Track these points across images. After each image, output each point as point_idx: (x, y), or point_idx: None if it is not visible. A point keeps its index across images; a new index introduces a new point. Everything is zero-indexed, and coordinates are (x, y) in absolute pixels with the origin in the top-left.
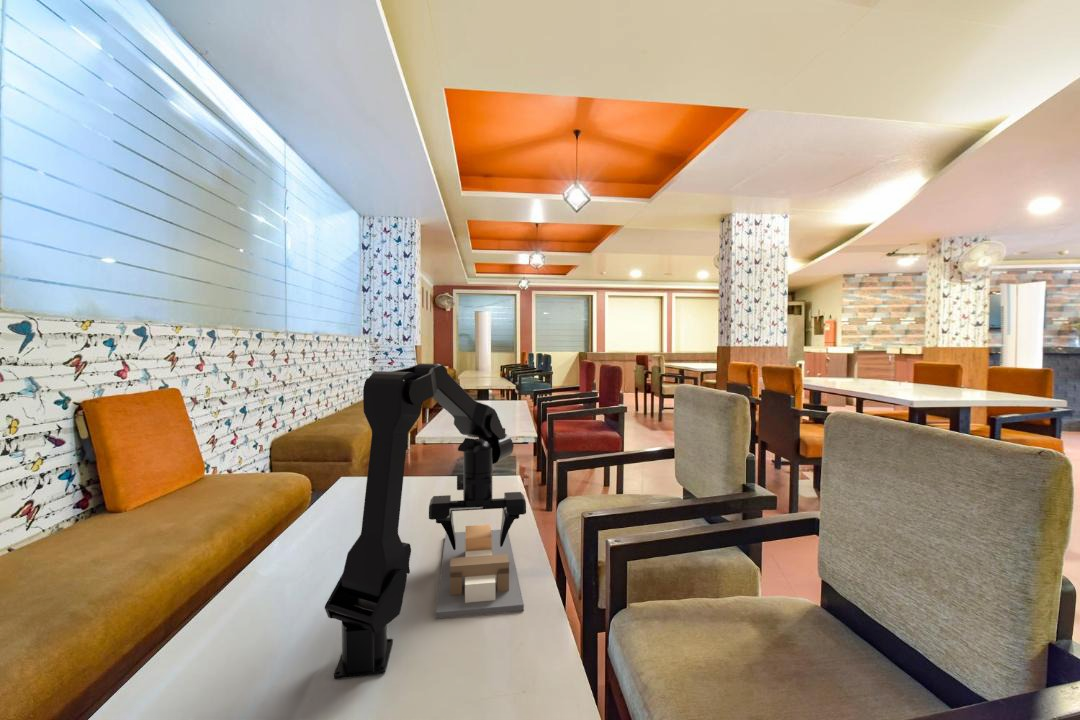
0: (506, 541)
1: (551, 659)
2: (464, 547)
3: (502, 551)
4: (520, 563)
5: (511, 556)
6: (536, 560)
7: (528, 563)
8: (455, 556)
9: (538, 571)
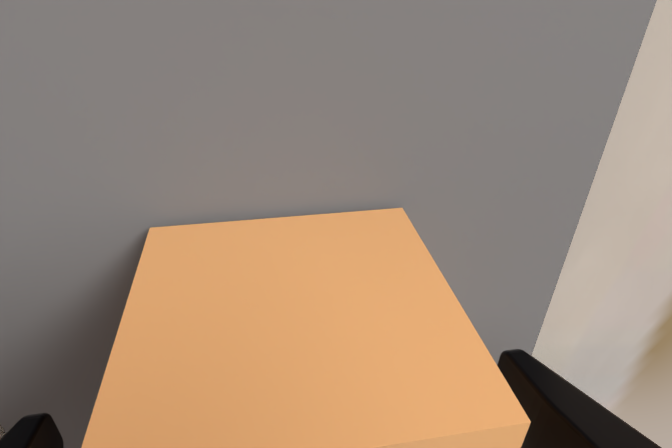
0: (604, 43)
1: None
2: (117, 144)
3: (495, 245)
4: (557, 308)
5: (533, 312)
6: (661, 278)
7: (600, 308)
8: (72, 311)
9: (606, 373)
